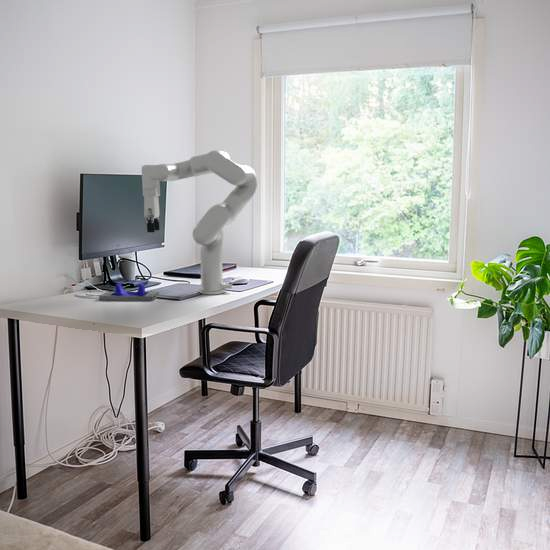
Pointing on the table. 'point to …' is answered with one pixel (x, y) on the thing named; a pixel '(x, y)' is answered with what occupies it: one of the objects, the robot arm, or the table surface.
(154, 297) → the dark grey flat slab
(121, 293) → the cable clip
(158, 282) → the table surface
